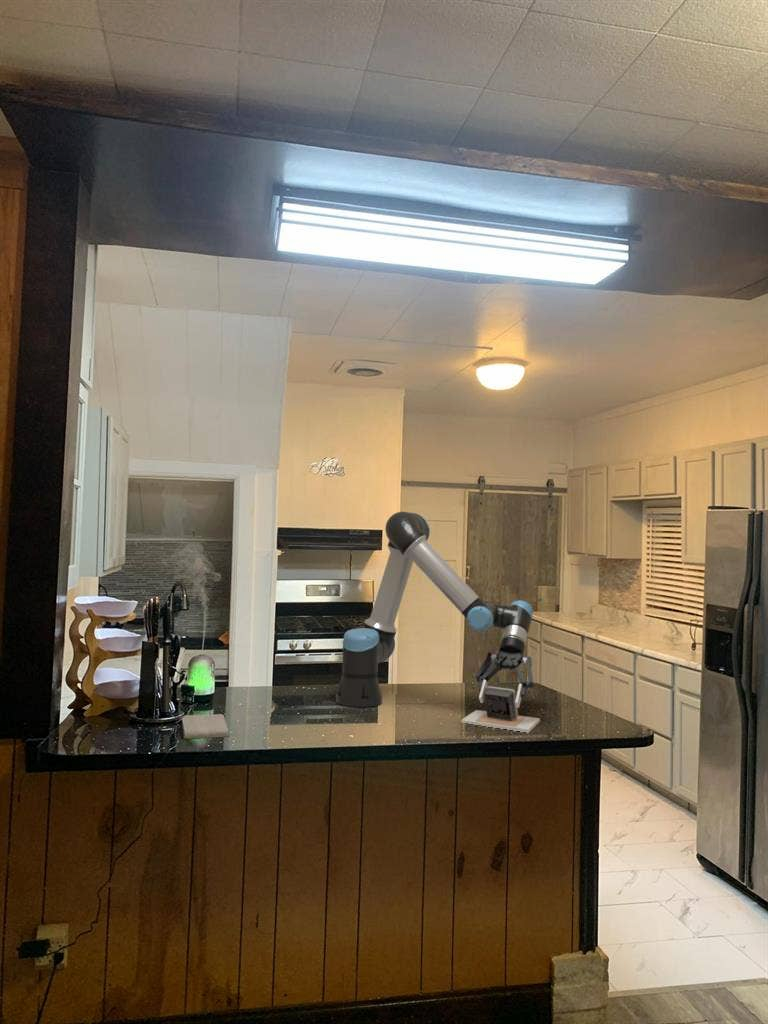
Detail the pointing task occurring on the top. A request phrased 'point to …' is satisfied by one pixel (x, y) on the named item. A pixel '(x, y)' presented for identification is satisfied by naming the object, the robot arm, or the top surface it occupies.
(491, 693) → the electrical switch
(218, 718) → the washcloth
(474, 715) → the mounting plate
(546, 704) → the top surface
